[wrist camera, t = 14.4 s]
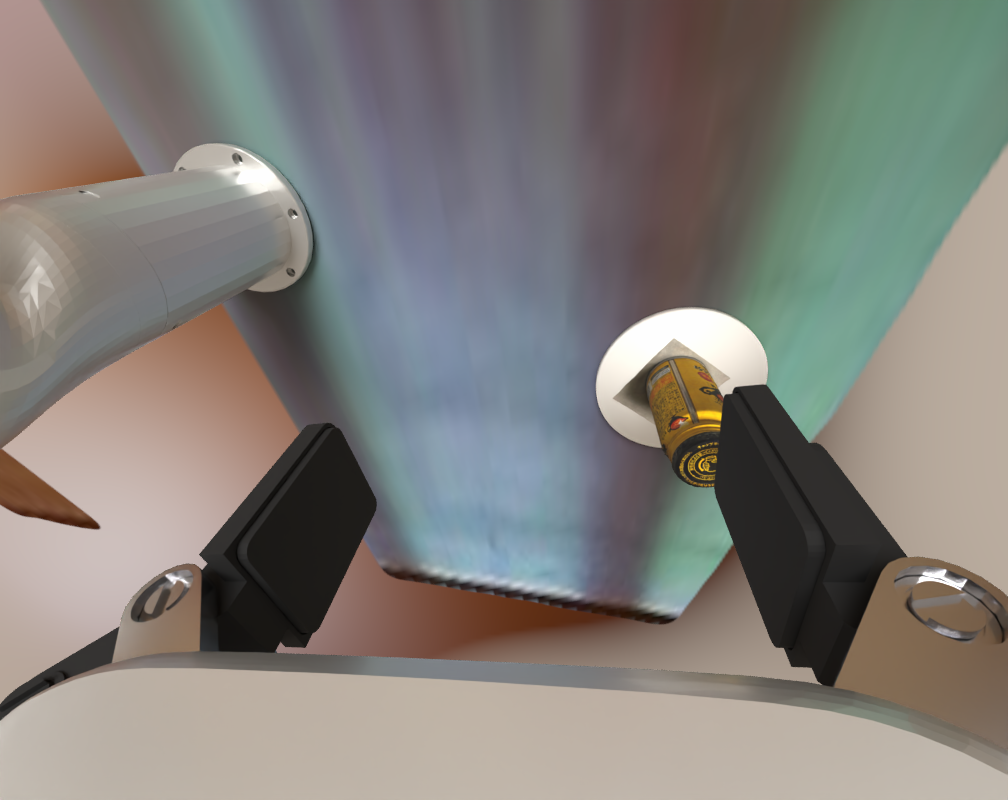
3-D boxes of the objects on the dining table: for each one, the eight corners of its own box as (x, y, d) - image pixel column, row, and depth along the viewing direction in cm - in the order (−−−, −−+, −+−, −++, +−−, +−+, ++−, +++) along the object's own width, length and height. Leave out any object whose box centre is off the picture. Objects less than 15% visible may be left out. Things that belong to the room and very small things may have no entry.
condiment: (729, 377, 40) (781, 461, 31) (664, 431, 45) (691, 519, 35) (673, 336, 39) (708, 412, 29) (612, 396, 43) (624, 479, 34)
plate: (601, 446, 49) (601, 452, 48) (589, 319, 40) (589, 323, 39) (753, 437, 45) (756, 443, 44) (775, 295, 37) (780, 299, 36)
